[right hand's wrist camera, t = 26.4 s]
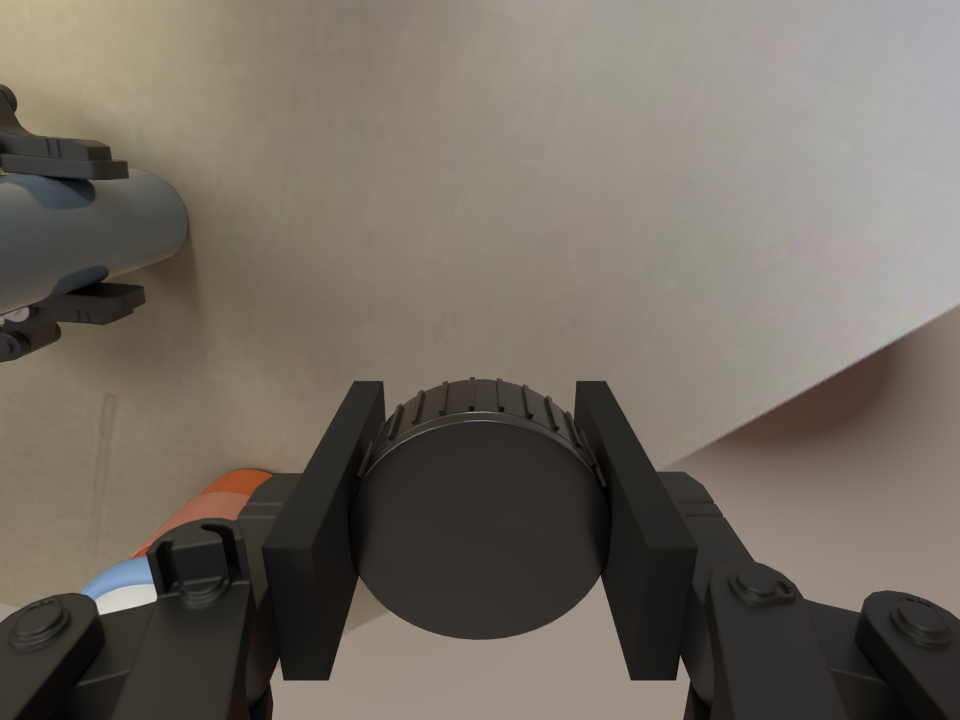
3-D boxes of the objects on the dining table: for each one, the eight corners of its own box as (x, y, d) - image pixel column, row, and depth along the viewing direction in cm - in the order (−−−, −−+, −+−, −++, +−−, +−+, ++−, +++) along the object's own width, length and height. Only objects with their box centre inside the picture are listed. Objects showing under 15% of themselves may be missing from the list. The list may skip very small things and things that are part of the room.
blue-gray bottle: (187, 270, 30) (-115, 391, 15) (97, 250, 29) (-308, 355, 14) (190, 180, 28) (-146, 214, 13) (95, 158, 28) (-364, 168, 13)
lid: (582, 580, 13) (599, 648, 12) (365, 572, 13) (347, 638, 11) (610, 381, 12) (635, 423, 10) (360, 370, 11) (336, 410, 10)
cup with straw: (284, 588, 37) (120, 949, 20) (158, 522, 35) (-135, 860, 18) (353, 496, 35) (233, 823, 18) (222, 419, 33) (-52, 704, 16)
